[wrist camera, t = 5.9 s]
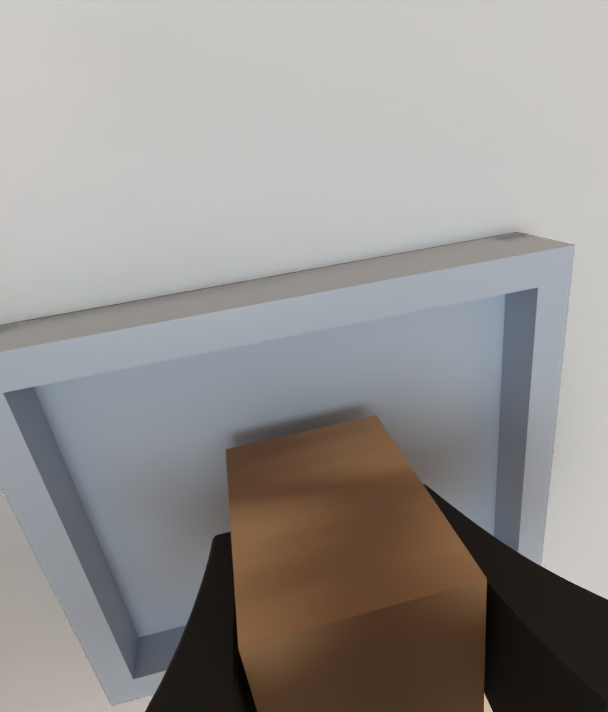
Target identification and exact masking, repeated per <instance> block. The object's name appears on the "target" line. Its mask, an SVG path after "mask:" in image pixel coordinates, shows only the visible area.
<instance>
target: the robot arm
mask: <svg viewBox="0 0 608 712" xmlns="http://www.w3.org/2000/svg"><path fill="white" fill-rule="evenodd" d="M423 485H424V486H425V488H426V489H427V491H428V492H429V494H430V495H431V497H432V498H433V500H434V501H435V503H436V504H437V506H438V507H439V509H440V510H441V511H442V513H443V514H444V516H445V517H446V519H447V520H448V522H449V523H450V525H451V526H452V528H453V529H454V531H455V532H456V534H457V535H458V537H459V538H460V540H461V541H462V543H463V544H464V545H465V547H466V548H467V550H468V551H469V553H470V554H471V556H472V557H473V559H474V560H475V562H476V563H477V565H478V566H479V568H480V569H481V571H482V572H483V574H484V575H485V577H486V578H487V597H486V635H485V674H484V693H485V695H486V698H487V700H488V702H489V704H490V706H491V708H492V710H493V712H608V600H607V599H605V598H603V597H601V596H598V595H596V594H594V593H592V592H590V591H588V590H586V589H584V588H582V587H580V586H577V585H575V584H573V583H571V582H569V581H567V580H566V579H564V578H562V577H560V576H558V575H556V574H554V573H552V572H551V571H549V570H547V569H545V568H543V567H542V566H540V565H538V564H536V563H535V562H533V561H531V560H530V559H528V558H526V557H525V556H523V555H521V554H520V553H518V552H517V551H515V550H514V549H512V548H511V547H509V546H507V545H506V544H504V543H503V542H501V541H500V540H498V539H497V538H496V537H494V536H493V535H491V534H490V533H488V532H487V531H486V530H484V529H483V528H481V527H480V526H479V525H477V524H476V523H474V522H473V521H472V520H470V519H469V518H468V517H466V516H465V515H464V514H462V513H461V512H460V511H459V510H457V509H456V508H455V507H453V506H452V505H451V504H450V503H448V502H447V501H446V500H444V499H443V498H442V497H441V496H439V495H438V494H437V493H436V492H434V491H433V490H432V489H431V488H429V487H428V486H427V485H425V484H423ZM145 712H257V709H256V706H255V702H254V699H253V696H252V692H251V689H250V686H249V682H248V679H247V676H246V672H245V669H244V666H243V662H242V659H241V656H240V653H239V649H238V636H237V620H236V604H235V589H234V573H233V558H232V542H231V531H230V532H226V533H222V534H218V535H215V537H214V538H213V539H212V544H211V549H210V554H209V558H208V562H207V565H206V569H205V572H204V576H203V579H202V582H201V585H200V588H199V591H198V594H197V597H196V600H195V603H194V606H193V609H192V612H191V614H190V617H189V619H188V622H187V624H186V627H185V629H184V632H183V634H182V637H181V639H180V642H179V644H178V646H177V649H176V651H175V653H174V655H173V658H172V660H171V662H170V664H169V666H168V668H167V670H166V672H165V674H164V676H163V678H162V681H161V683H160V685H159V687H158V688H157V690H156V692H155V694H154V696H153V698H152V700H151V702H150V703H149V705H148V707H147V709H146V711H145Z"/></svg>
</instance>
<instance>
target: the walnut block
mask: <svg viewBox="0 0 608 712" xmlns="http://www.w3.org/2000/svg"><path fill="white" fill-rule="evenodd" d="M226 464H227V480H228V496H229V511H230V527H231V542H232V558H233V573H234V589H235V604H236V620H237V636H238V649H239V653H240V656H241V659H242V662H243V666H244V669H245V672H246V676H247V679H248V682H249V686H250V689H251V692H252V696H253V699H254V702H255V706H256V709H257V712H484V674H485V635H486V597H487V578H486V577H485V575H484V574H483V572H482V571H481V569H480V568H479V566H478V565H477V563H476V562H475V560H474V559H473V557H472V556H471V554H470V553H469V551H468V550H467V548H466V547H465V545H464V544H463V543H462V541H461V540H460V538H459V537H458V535H457V534H456V532H455V531H454V529H453V528H452V526H451V525H450V523H449V522H448V520H447V519H446V517H445V516H444V514H443V513H442V511H441V510H440V509H439V507H438V506H437V504H436V503H435V501H434V500H433V498H432V497H431V495H430V494H429V492H428V491H427V489H426V488H425V486H424V485H423V483H422V482H421V480H420V479H419V478H418V476H417V475H416V473H415V472H414V470H413V469H412V467H411V466H410V464H409V463H408V461H407V460H406V458H405V457H404V455H403V454H402V452H401V451H400V449H399V448H398V446H397V445H396V444H395V442H394V441H393V439H392V438H391V436H390V435H389V433H388V432H387V430H386V429H385V427H384V426H383V424H382V423H381V421H380V420H379V418H378V417H377V415H373V416H369V417H365V418H360V419H356V420H351V421H347V422H343V423H338V424H334V425H330V426H325V427H321V428H317V429H312V430H308V431H303V432H299V433H295V434H290V435H286V436H282V437H277V438H273V439H268V440H264V441H260V442H255V443H251V444H247V445H242V446H238V447H233V448H229V449H226Z"/></svg>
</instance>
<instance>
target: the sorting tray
mask: <svg viewBox="0 0 608 712" xmlns="http://www.w3.org/2000/svg"><path fill="white" fill-rule="evenodd" d="M574 247H575V245H573V244H568V243H564V242H559V241H555V240H550V239H546V238H542V237H537V236H533V235H528V234H524V233H519V232H517V233H511V234H505V235H500V236H494V237H489V238H483V239H478V240H472V241H466V242H461V243H455V244H450V245H444V246H439V247H433V248H428V249H422V250H416V251H411V252H405V253H400V254H394V255H389V256H383V257H377V258H372V259H366V260H361V261H355V262H350V263H344V264H338V265H333V266H327V267H322V268H316V269H311V270H305V271H300V272H294V273H288V274H283V275H277V276H272V277H266V278H261V279H255V280H249V281H244V282H238V283H233V284H227V285H222V286H216V287H211V288H205V289H199V290H194V291H188V292H183V293H177V294H172V295H166V296H160V297H155V298H149V299H144V300H138V301H133V302H127V303H122V304H116V305H110V306H105V307H99V308H94V309H88V310H83V311H77V312H71V313H66V314H60V315H55V316H49V317H44V318H38V319H33V320H27V321H21V322H16V323H10V324H5V325H0V485H1V487H2V489H3V491H4V493H5V495H6V497H7V499H8V501H9V503H10V505H11V507H12V509H13V511H14V513H15V515H16V517H17V519H18V521H19V523H20V525H21V527H22V529H23V531H24V533H25V535H26V537H27V539H28V541H29V543H30V545H31V547H32V549H33V551H34V553H35V555H36V557H37V559H38V561H39V563H40V565H41V567H42V569H43V571H44V573H45V575H46V577H47V579H48V581H49V583H50V585H51V587H52V589H53V591H54V593H55V595H56V597H57V599H58V601H59V603H60V605H61V607H62V609H63V611H64V613H65V615H66V617H67V619H68V621H69V623H70V625H71V627H72V629H73V631H74V633H75V635H76V637H77V638H78V640H79V642H80V644H81V646H82V648H83V650H84V652H85V654H86V656H87V658H88V660H89V662H90V664H91V666H92V668H93V670H94V672H95V674H96V676H97V678H98V680H99V682H100V684H101V686H102V688H103V690H104V692H105V694H106V696H107V698H108V700H109V702H110V704H111V706H114V705H117V704H121V703H124V702H128V701H131V700H135V699H139V698H142V697H146V696H149V695H153V694H155V692H156V690H157V688H158V687H159V685H160V683H161V681H162V678H163V676H164V674H165V672H166V670H167V668H168V666H169V664H170V662H171V660H172V658H173V655H174V653H175V651H176V649H177V646H178V644H179V642H180V639H181V637H182V634H183V632H184V629H185V627H186V624H187V622H188V619H189V617H190V614H191V612H192V609H193V606H194V603H195V600H196V597H197V594H198V591H199V588H200V585H201V582H202V579H203V576H204V572H205V569H206V565H207V562H208V558H209V554H210V549H211V544H212V539H213V538H214V537H215V535H218V534H222V533H226V532H230V531H231V527H230V511H229V496H228V480H227V464H226V449H229V448H233V447H238V446H242V445H247V444H251V443H255V442H260V441H264V440H268V439H273V438H277V437H282V436H286V435H290V434H295V433H299V432H303V431H308V430H312V429H317V428H321V427H325V426H330V425H334V424H338V423H343V422H347V421H351V420H356V419H360V418H365V417H369V416H373V415H377V417H378V418H379V420H380V421H381V423H382V424H383V426H384V427H385V429H386V430H387V432H388V433H389V435H390V436H391V438H392V439H393V441H394V442H395V444H396V445H397V446H398V448H399V449H400V451H401V452H402V454H403V455H404V457H405V458H406V460H407V461H408V463H409V464H410V466H411V467H412V469H413V470H414V472H415V473H416V475H417V476H418V478H419V479H420V480H421V482H422V483H423V484H425V485H427V486H428V487H429V488H431V489H432V490H433V491H434V492H436V493H437V494H438V495H439V496H441V497H442V498H443V499H444V500H446V501H447V502H448V503H450V504H451V505H452V506H453V507H455V508H456V509H457V510H459V511H460V512H461V513H462V514H464V515H465V516H466V517H468V518H469V519H470V520H472V521H473V522H474V523H476V524H477V525H479V526H480V527H481V528H483V529H484V530H486V531H487V532H488V533H490V534H491V535H493V536H494V537H496V538H497V539H498V540H500V541H501V542H503V543H504V544H506V545H507V546H509V547H511V548H512V549H514V550H515V551H517V552H518V553H520V554H521V555H523V556H525V557H526V558H528V559H530V560H531V561H533V562H535V563H536V564H538V565H540V566H541V562H542V552H543V542H544V533H545V523H546V514H547V504H548V495H549V485H550V476H551V466H552V457H553V447H554V438H555V428H556V419H557V409H558V399H559V390H560V380H561V371H562V361H563V352H564V342H565V333H566V323H567V314H568V304H569V295H570V285H571V276H572V266H573V257H574Z"/></svg>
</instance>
